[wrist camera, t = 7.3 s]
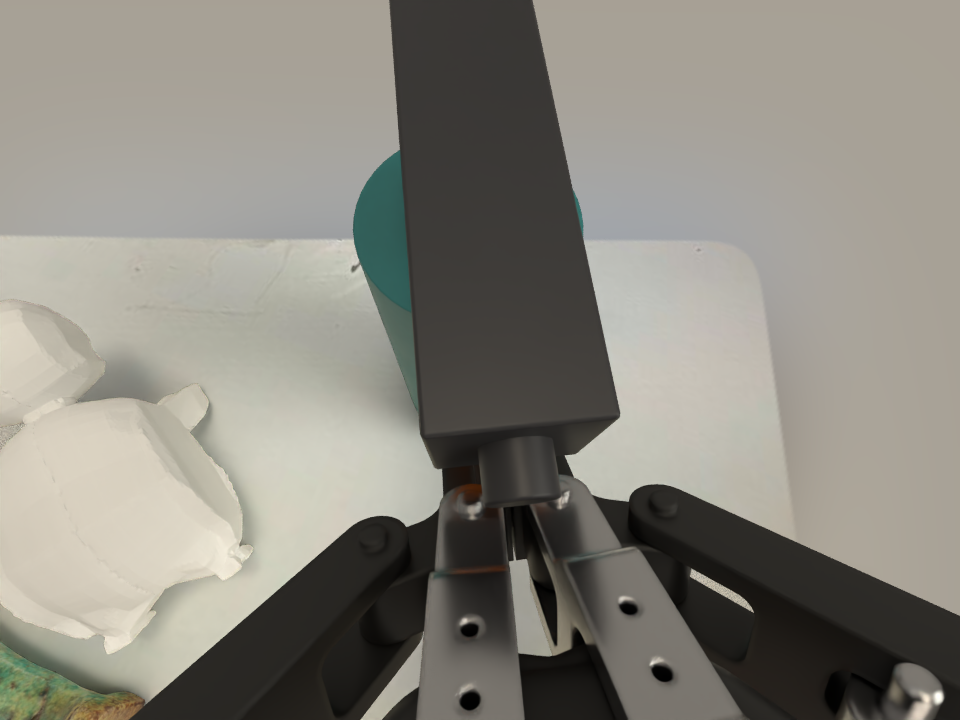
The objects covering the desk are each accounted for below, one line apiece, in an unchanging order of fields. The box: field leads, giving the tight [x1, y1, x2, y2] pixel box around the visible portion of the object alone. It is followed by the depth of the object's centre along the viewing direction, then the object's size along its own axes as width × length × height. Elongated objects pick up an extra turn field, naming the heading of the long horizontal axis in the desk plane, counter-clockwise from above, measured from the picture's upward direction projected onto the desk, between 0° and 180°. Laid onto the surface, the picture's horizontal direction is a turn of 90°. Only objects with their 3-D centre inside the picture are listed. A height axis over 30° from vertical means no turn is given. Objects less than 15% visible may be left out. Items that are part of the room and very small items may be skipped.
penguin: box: [0, 299, 254, 654], centre depth 22 cm, size 8×8×15 cm
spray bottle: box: [353, 0, 620, 508], centre depth 18 cm, size 11×6×20 cm, turn 6°
